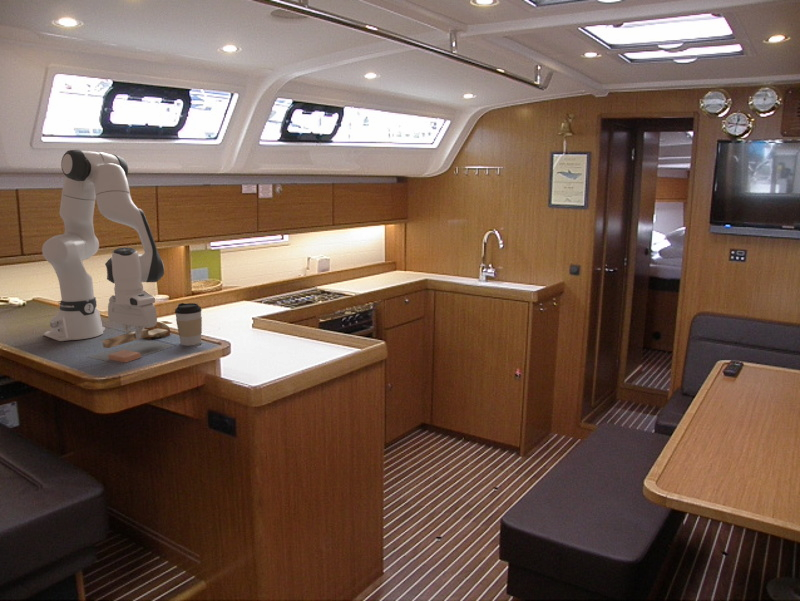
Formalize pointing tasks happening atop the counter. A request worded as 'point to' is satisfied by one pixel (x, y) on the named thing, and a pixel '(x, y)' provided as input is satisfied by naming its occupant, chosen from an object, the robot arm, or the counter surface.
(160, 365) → the counter surface
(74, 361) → the counter surface
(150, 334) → the spatula
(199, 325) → the coffee cup
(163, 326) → the bread roll
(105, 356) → the mat
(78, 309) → the robot arm
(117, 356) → the tile
